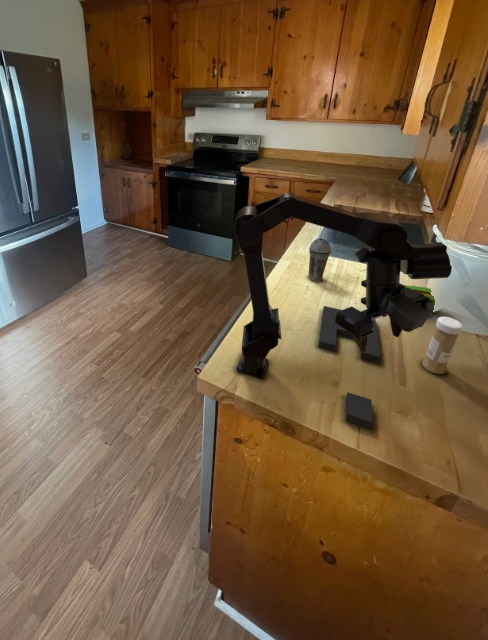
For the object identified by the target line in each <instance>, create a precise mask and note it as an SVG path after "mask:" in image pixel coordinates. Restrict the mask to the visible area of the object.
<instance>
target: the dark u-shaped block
mask: <svg viewBox="0 0 488 640" xmlns="http://www.w3.org/2000/svg"><path fill="white" fill-rule="evenodd" d="M341 310H342V309H340V308H337V307H336V308H335V307H332V306H326V305H323V309H322V314H321V315H322V316H321V321H320V329H319V337H318V346H317V347H318V348H319V349H324V350H327V351H331V352H335V351H336V348H337V337H338V336H339V337H343V338H348V339H352V340H354V338H353V336H352V334H351V333H350V332H348V331H347V330H345V329H344V328H342V327H341V326H339V325H338V324H336V323H335V313H337V312H339V311H341ZM372 322H373V328H372V331H373V333H371V334H369V335H368V337H367V347H366V351H365V352H362V351H361V350H360V349H359V354H360V356H359V357H360V359H361V360H365V361H368V362H372V363H375V364H379V363H380V361H381V360H380V359H381V353H380V345H379V344H380V343H379V335H378V329H377V327H378V326H377V320H376V319H374V320H372Z"/></svg>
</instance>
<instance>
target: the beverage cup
mask: <svg viewBox="0 0 488 640" xmlns="http://www.w3.org/2000/svg"><path fill="white" fill-rule="evenodd" d="M327 231H328V228H325V229H324V233H323V236H322V238H316V239H314V240H313V241H312V242H311V243H310V245H309V247H308V251H309V253H308V254H309V259H308V260H309V261H308V279H309V280H310V281H311V282H321V281H322V279H323V276H324V273H325V270H326V266H327V263H328V259H329V258H330V255H331V252H332V247H331V244H330V242H329V241H328V240H327V239H325V238H326V234H327Z"/></svg>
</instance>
